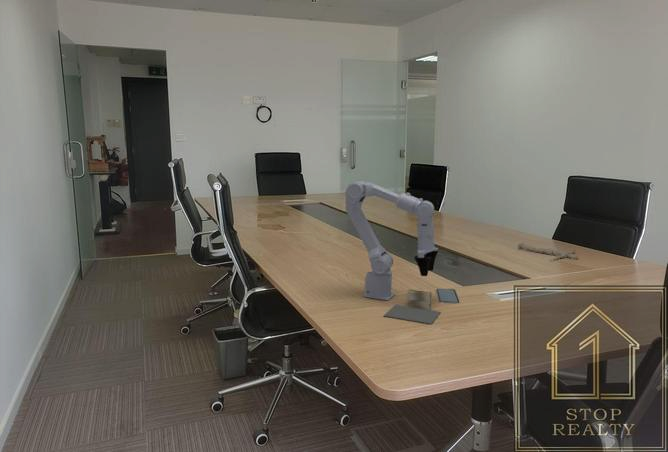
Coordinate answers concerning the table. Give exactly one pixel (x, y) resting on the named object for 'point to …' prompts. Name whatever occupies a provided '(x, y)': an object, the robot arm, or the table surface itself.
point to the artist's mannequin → (550, 252)
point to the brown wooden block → (419, 299)
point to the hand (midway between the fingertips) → (427, 273)
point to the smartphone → (447, 295)
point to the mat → (412, 314)
